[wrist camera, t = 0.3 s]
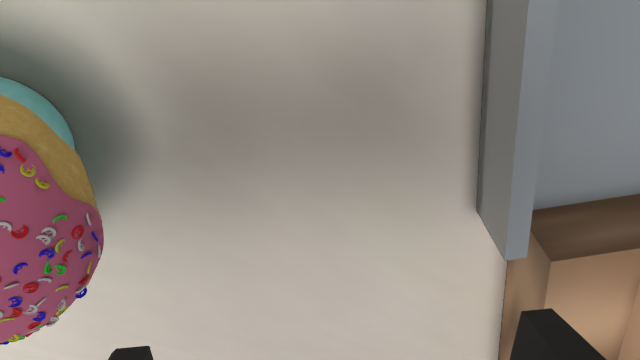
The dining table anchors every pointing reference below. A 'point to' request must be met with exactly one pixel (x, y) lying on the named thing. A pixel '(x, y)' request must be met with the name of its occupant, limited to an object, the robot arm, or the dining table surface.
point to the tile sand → (632, 333)
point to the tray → (556, 110)
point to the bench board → (578, 271)
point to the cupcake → (41, 215)
